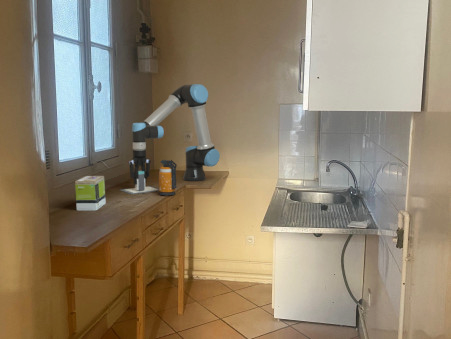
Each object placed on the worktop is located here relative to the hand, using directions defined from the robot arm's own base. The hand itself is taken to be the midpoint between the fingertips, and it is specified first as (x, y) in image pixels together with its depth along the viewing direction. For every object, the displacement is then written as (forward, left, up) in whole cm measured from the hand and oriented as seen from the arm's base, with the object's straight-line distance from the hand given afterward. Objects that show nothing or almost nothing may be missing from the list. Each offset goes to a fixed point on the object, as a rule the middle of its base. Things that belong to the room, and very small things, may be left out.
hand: (140, 189), depth 257 cm
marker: (0, 0, 0) cm, 0 cm away
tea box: (+38, +22, -2) cm, 44 cm away
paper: (-2, -4, -1) cm, 4 cm away
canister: (-8, +18, -2) cm, 20 cm away
